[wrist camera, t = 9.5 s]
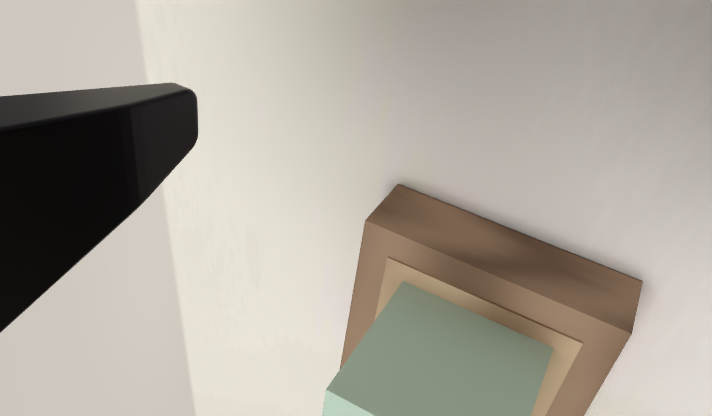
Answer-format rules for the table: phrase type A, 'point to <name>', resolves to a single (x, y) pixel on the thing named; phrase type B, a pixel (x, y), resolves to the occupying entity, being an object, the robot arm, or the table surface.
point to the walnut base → (498, 289)
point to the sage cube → (437, 364)
